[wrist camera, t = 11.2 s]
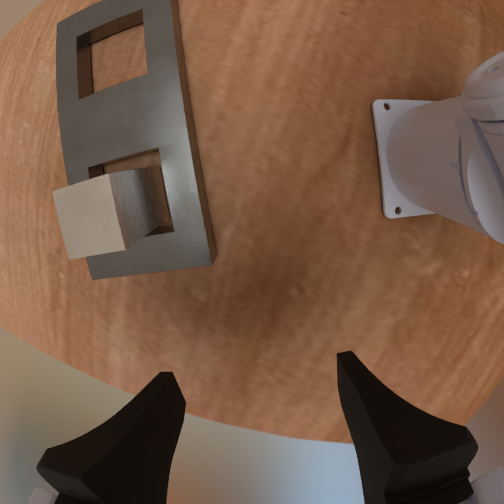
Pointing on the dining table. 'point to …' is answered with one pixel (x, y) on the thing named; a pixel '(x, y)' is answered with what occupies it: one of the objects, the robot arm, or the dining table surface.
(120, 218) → the grey square peg
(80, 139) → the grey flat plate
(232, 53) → the dining table surface
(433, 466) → the robot arm
